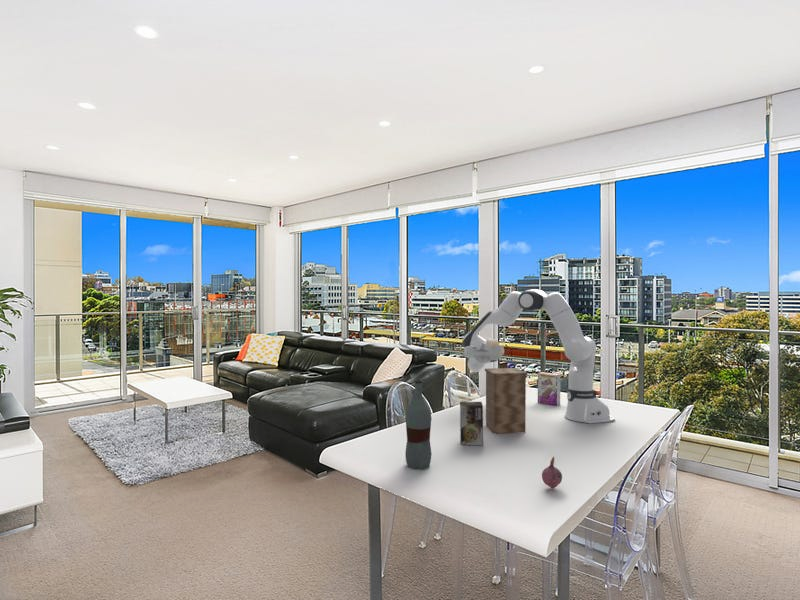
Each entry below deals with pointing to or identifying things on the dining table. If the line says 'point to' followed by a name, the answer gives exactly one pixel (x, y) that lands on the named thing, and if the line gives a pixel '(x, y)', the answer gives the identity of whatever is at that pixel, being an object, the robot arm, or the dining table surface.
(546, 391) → the candy bar box
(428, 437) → the bottle
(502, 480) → the dining table surface
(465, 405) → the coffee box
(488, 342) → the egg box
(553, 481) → the vegetable
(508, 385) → the lidded wooden crate
